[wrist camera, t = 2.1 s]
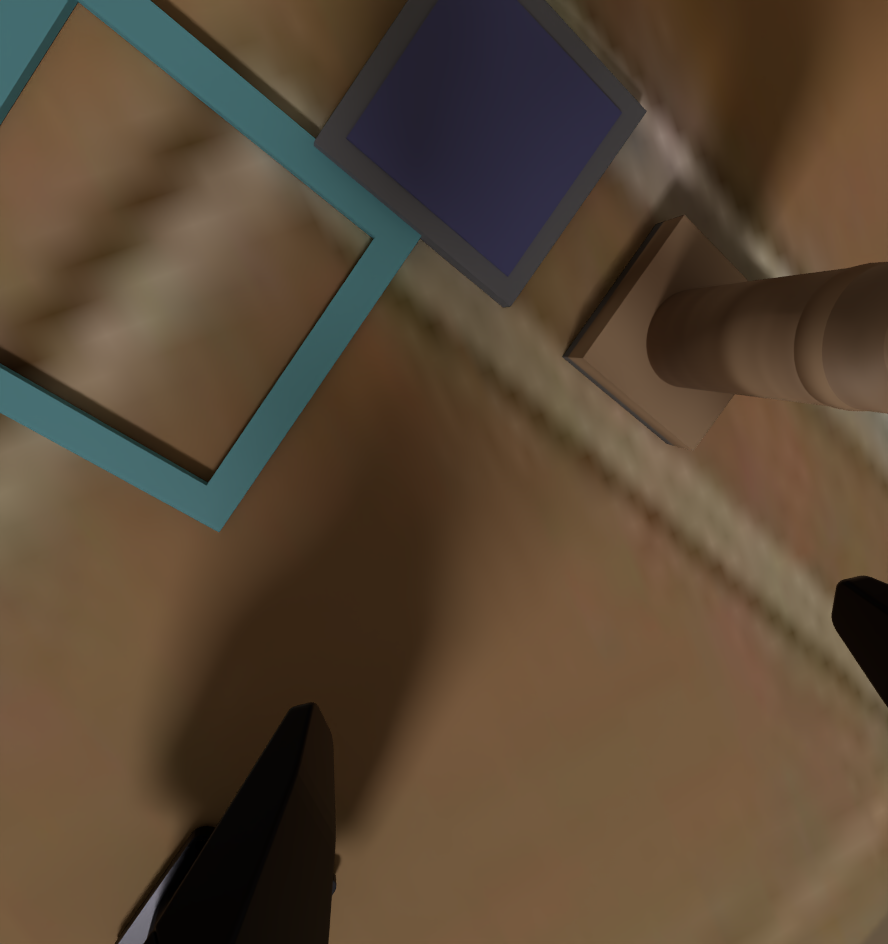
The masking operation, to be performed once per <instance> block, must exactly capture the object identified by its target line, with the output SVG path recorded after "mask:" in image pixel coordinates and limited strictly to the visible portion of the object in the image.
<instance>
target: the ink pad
mask: <svg viewBox="0 0 888 944" xmlns="http://www.w3.org/2000/svg"><path fill="white" fill-rule="evenodd" d="M646 112H647V111H646V110H645V109H644V108H643V107H642V106H641V105H640V104H639V102H638V101H637V100H636V99H635V98H634V97H633V96H632V95H631V94H630V93H629V92H628V90H627V89H626V88H625V87H624V86H623V85H622V84H621V83H620V82H619V81H618V80H617V78H616V77H615V76H614V75H613V74H612V73H611V72H610V71H609V70H608V69H607V68H606V66H605V65H604V64H603V63H602V62H601V61H600V60H599V59H598V58H597V57H596V55H595V54H594V53H593V52H592V51H591V50H590V49H589V48H588V47H587V46H586V45H585V43H584V42H583V41H582V40H581V39H580V38H579V37H578V36H577V35H576V34H575V33H574V31H573V30H572V29H571V28H570V27H569V26H568V25H567V24H566V23H565V22H564V21H563V19H562V18H561V17H560V16H559V15H558V14H557V13H556V12H555V11H554V10H553V9H552V7H551V6H550V5H549V4H548V3H547V2H546V1H545V0H408V1H407V2H406V4H405V5H404V7H403V8H402V10H401V12H400V13H399V15H398V16H397V18H396V19H395V21H394V22H393V24H392V25H391V27H390V28H389V30H388V31H387V33H386V34H385V36H384V37H383V39H382V40H381V42H380V43H379V45H378V46H377V48H376V49H375V51H374V52H373V54H372V55H371V57H370V58H369V60H368V61H367V63H366V64H365V66H364V67H363V69H362V70H361V72H360V73H359V75H358V76H357V78H356V79H355V81H354V82H353V84H352V85H351V87H350V88H349V90H348V91H347V93H346V94H345V96H344V97H343V99H342V100H341V102H340V103H339V105H338V106H337V108H336V109H335V111H334V112H333V114H332V115H331V117H330V118H329V120H328V121H327V123H326V124H325V126H324V127H323V129H322V130H321V132H320V133H319V135H318V136H317V138H316V139H315V141H314V147H316V148H317V149H318V150H319V151H320V152H322V153H323V154H324V155H325V156H326V157H328V158H329V159H330V160H331V161H332V162H334V163H335V164H336V165H337V166H338V167H340V168H341V169H342V170H343V171H344V172H346V173H347V174H348V175H349V176H350V177H352V178H353V179H354V180H355V181H356V182H358V183H359V184H360V185H361V186H362V187H364V188H365V189H366V190H367V191H368V192H370V193H371V194H372V195H373V196H374V197H376V198H377V199H378V200H379V201H380V202H382V203H383V204H384V205H385V206H386V207H388V208H389V209H390V210H391V211H392V212H394V213H395V214H396V215H397V216H398V217H400V218H401V219H402V220H403V221H404V222H406V223H407V224H408V225H409V226H410V227H412V228H413V229H414V230H415V231H416V232H418V233H419V234H420V235H421V237H420V239H421V240H423V241H424V242H425V243H426V244H427V245H429V246H430V247H431V248H432V249H433V250H435V251H436V252H437V253H438V254H439V255H441V256H442V257H443V258H444V259H445V260H447V261H448V262H449V263H450V264H451V265H453V266H454V267H455V268H456V269H457V270H459V271H460V272H461V273H462V274H463V275H465V276H466V277H467V278H468V279H470V280H471V281H472V282H473V283H474V284H476V285H477V286H478V287H479V288H480V289H482V290H483V291H484V292H485V293H486V294H488V295H489V296H490V297H491V298H492V299H494V300H495V301H496V302H497V303H498V304H500V305H501V306H502V307H509V306H511V305H512V304H513V302H514V301H515V300H516V298H517V297H518V295H519V294H520V292H521V291H522V290H523V288H524V287H525V285H526V284H527V282H528V281H529V279H530V278H531V277H532V275H533V274H534V272H535V271H536V269H537V268H538V267H539V265H540V264H541V262H542V261H543V259H544V258H545V257H546V255H547V254H548V252H549V251H550V249H551V248H552V246H553V245H554V244H555V242H556V241H557V239H558V238H559V236H560V235H561V234H562V232H563V231H564V229H565V228H566V226H567V225H568V224H569V222H570V221H571V219H572V218H573V216H574V215H575V214H576V212H577V211H578V209H579V208H580V206H581V205H582V203H583V202H584V201H585V199H586V198H587V196H588V195H589V193H590V192H591V191H592V189H593V188H594V186H595V185H596V183H597V182H598V181H599V179H600V178H601V176H602V175H603V173H604V172H605V170H606V169H607V168H608V166H609V165H610V163H611V162H612V160H613V159H614V158H615V156H616V155H617V153H618V152H619V150H620V149H621V148H622V146H623V145H624V143H625V142H626V140H627V139H628V137H629V136H630V135H631V133H632V132H633V130H634V129H635V127H636V126H637V125H638V123H639V122H640V120H641V119H642V117H643V116H644V115H645V113H646Z"/></svg>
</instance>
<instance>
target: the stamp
mask: <svg viewBox="0 0 888 944" xmlns="http://www.w3.org/2000/svg"><path fill="white" fill-rule="evenodd" d="M563 358H564V359H565V360H567V361H568V362H569V363H570V364H571V365H573V366H574V367H575V368H576V369H577V370H579V371H580V372H581V373H582V374H583V375H585V376H586V377H587V378H588V379H589V380H591V381H592V382H593V383H594V384H595V385H597V386H598V387H599V388H600V389H602V390H603V391H604V392H605V393H606V394H608V395H609V396H610V397H611V398H612V399H614V400H615V401H616V402H617V403H618V404H620V405H621V406H622V407H623V408H624V409H626V410H627V411H628V412H629V413H630V414H632V415H633V416H634V417H635V418H636V419H638V420H639V421H640V422H641V423H642V424H644V425H645V426H646V427H647V428H649V429H650V430H651V431H652V432H653V433H655V434H656V435H657V436H658V437H659V438H661V439H662V440H663V441H664V442H665V443H667V444H670V445H673V446H677V447H680V448H684V449H687V450H691V451H694V449H695V448H696V447H697V445H698V444H699V443H700V441H701V440H702V438H703V437H704V436H705V434H706V433H707V432H708V430H709V429H710V427H711V426H712V425H713V423H714V422H715V421H716V419H717V418H718V416H719V415H720V414H721V412H722V411H723V410H724V408H725V407H726V405H727V404H728V403H729V401H730V400H731V399H732V397H733V396H734V394H737V395H745V396H753V397H761V398H769V399H777V400H785V401H793V402H801V403H808V404H816V405H824V406H831V407H833V408H838V409H843V410H848V411H872V412H880V413H888V262H878V263H868V264H863V265H859V266H855V267H851V268H846V269H838V270H831V271H823V272H816V273H808V274H800V275H793V276H785V277H778V278H770V279H763V280H755V281H748V280H747V279H746V278H745V277H744V276H743V275H742V274H741V273H740V272H739V271H738V270H737V269H736V268H735V267H734V266H733V265H732V264H731V263H730V261H729V260H728V259H727V258H726V257H725V256H724V255H723V254H722V253H721V252H720V251H719V250H718V249H717V248H716V247H715V246H714V245H713V244H712V243H711V242H710V241H709V240H708V239H707V238H706V237H705V236H704V234H703V233H702V232H701V231H700V230H699V229H698V228H697V227H696V226H695V225H694V224H693V223H692V222H691V221H690V220H689V219H688V218H687V217H686V216H685V215H682V216H679V217H676V218H673V219H670V220H667V221H664V222H661V223H658V224H656V225H655V226H654V228H653V229H652V231H651V232H650V233H649V235H648V236H647V238H646V239H645V240H644V242H643V243H642V245H641V246H640V248H639V249H638V250H637V252H636V253H635V255H634V256H633V257H632V259H631V260H630V262H629V263H628V265H627V266H626V267H625V269H624V270H623V272H622V273H621V274H620V276H619V277H618V279H617V280H616V282H615V283H614V284H613V286H612V287H611V289H610V290H609V291H608V293H607V294H606V296H605V297H604V299H603V300H602V301H601V303H600V304H599V306H598V307H597V308H596V310H595V311H594V313H593V314H592V316H591V317H590V318H589V320H588V321H587V323H586V324H585V325H584V327H583V328H582V330H581V331H580V332H579V334H578V335H577V337H576V338H575V340H574V341H573V342H572V344H571V345H570V347H569V348H568V349H567V351H566V352H565V354H564V355H563Z"/></svg>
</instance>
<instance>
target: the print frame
mask: <svg viewBox="0 0 888 944" xmlns="http://www.w3.org/2000/svg"><path fill="white" fill-rule="evenodd" d="M78 2H79V3H80V4H82V5H83V6H84V7H85V8H87V9H88V10H89V11H90V12H92V13H93V14H94V15H95V16H97V17H98V18H99V19H100V20H102V21H103V22H104V23H105V24H107V25H108V26H109V27H110V28H112V29H113V30H114V31H115V32H117V33H118V34H119V35H120V36H121V37H123V38H124V39H125V40H126V41H128V42H129V43H130V44H131V45H133V46H134V47H135V48H136V49H138V50H139V51H140V52H141V53H143V54H144V55H145V56H146V57H148V58H149V59H150V60H151V61H153V62H154V63H155V64H156V65H158V66H159V67H160V68H161V69H163V70H164V71H165V72H166V73H168V74H169V75H170V76H171V77H173V78H174V79H175V80H176V81H177V82H179V83H180V84H181V85H182V86H184V87H185V88H186V89H187V90H189V91H190V92H191V93H192V94H194V95H195V96H196V97H197V98H199V99H200V100H201V101H202V102H204V103H205V104H206V105H207V106H209V107H210V108H211V109H212V110H214V111H215V112H216V113H217V114H219V115H220V116H221V117H222V118H224V119H225V120H226V121H227V122H229V123H230V124H231V125H232V126H233V127H235V128H236V129H237V130H238V131H240V132H241V133H242V134H243V135H245V136H246V137H247V138H248V139H250V140H251V141H252V142H253V143H255V144H256V145H257V146H258V147H260V148H261V149H262V150H263V151H265V152H266V153H267V154H268V155H270V156H271V157H272V158H273V159H275V160H276V161H277V162H278V163H280V164H281V165H282V166H283V167H285V168H286V169H287V170H288V171H289V172H291V173H292V174H293V175H294V176H296V177H297V178H298V179H299V180H301V181H302V182H303V183H304V184H306V185H307V186H308V187H309V188H311V189H312V190H313V191H314V192H316V193H317V194H318V195H319V196H321V197H322V198H323V199H324V200H326V201H327V202H328V203H329V204H331V205H332V206H333V207H334V208H336V209H337V210H338V211H339V212H341V213H342V214H343V215H344V216H345V217H347V218H348V219H349V220H350V221H352V222H353V223H354V224H355V225H357V226H358V227H359V228H360V229H362V230H363V231H364V232H365V233H367V234H368V235H369V236H370V237H372V238H373V241H372V242H371V244H370V245H369V247H368V248H367V250H366V251H365V253H364V254H363V256H362V257H361V259H360V260H359V261H358V263H357V264H356V266H355V267H354V269H353V270H352V272H351V273H350V275H349V276H348V278H347V279H346V281H345V282H344V284H343V285H342V287H341V288H340V289H339V291H338V292H337V294H336V295H335V297H334V298H333V300H332V301H331V303H330V304H329V306H328V307H327V309H326V310H325V312H324V313H323V315H322V316H321V318H320V319H319V320H318V322H317V323H316V325H315V326H314V328H313V329H312V331H311V332H310V334H309V335H308V337H307V338H306V340H305V341H304V343H303V344H302V346H301V347H300V348H299V350H298V351H297V353H296V354H295V356H294V357H293V359H292V360H291V362H290V363H289V365H288V366H287V368H286V369H285V371H284V372H283V374H282V375H281V377H280V378H279V379H278V381H277V382H276V384H275V385H274V387H273V388H272V390H271V391H270V393H269V394H268V396H267V397H266V399H265V400H264V402H263V403H262V405H261V406H260V407H259V409H258V410H257V412H256V413H255V415H254V416H253V418H252V419H251V421H250V422H249V424H248V425H247V427H246V428H245V430H244V431H243V433H242V434H241V436H240V437H239V438H238V440H237V441H236V443H235V444H234V446H233V447H232V449H231V450H230V452H229V453H228V455H227V456H226V458H225V459H224V461H223V462H222V464H221V465H220V466H219V468H218V469H217V471H216V472H215V474H214V475H213V477H212V478H211V480H210V481H209V483H208V482H206V481H204V480H203V479H201V478H199V477H197V476H196V475H194V474H192V473H190V472H189V471H187V470H185V469H183V468H182V467H180V466H178V465H176V464H175V463H173V462H171V461H169V460H168V459H166V458H164V457H162V456H161V455H159V454H157V453H155V452H154V451H152V450H150V449H149V448H147V447H145V446H143V445H142V444H140V443H138V442H136V441H135V440H133V439H131V438H129V437H128V436H126V435H124V434H122V433H121V432H119V431H117V430H115V429H114V428H112V427H110V426H108V425H107V424H105V423H103V422H101V421H100V420H98V419H96V418H95V417H93V416H91V415H89V414H88V413H86V412H84V411H82V410H81V409H79V408H77V407H75V406H74V405H72V404H70V403H68V402H67V401H65V400H63V399H61V398H60V397H58V396H56V395H54V394H53V393H51V392H49V391H47V390H46V389H44V388H42V387H41V386H39V385H37V384H35V383H34V382H32V381H30V380H28V379H27V378H25V377H23V376H21V375H20V374H18V373H16V372H14V371H13V370H11V369H9V368H7V367H6V366H4V365H2V364H0V413H2V414H4V415H6V416H7V417H9V418H11V419H13V420H15V421H17V422H18V423H20V424H22V425H24V426H26V427H28V428H29V429H31V430H33V431H35V432H37V433H39V434H40V435H42V436H44V437H46V438H48V439H49V440H51V441H53V442H55V443H57V444H59V445H60V446H62V447H64V448H66V449H68V450H70V451H71V452H73V453H75V454H77V455H79V456H81V457H82V458H84V459H86V460H88V461H90V462H92V463H93V464H95V465H97V466H99V467H101V468H102V469H104V470H106V471H108V472H110V473H112V474H113V475H115V476H117V477H119V478H121V479H123V480H124V481H126V482H128V483H130V484H132V485H134V486H135V487H137V488H139V489H141V490H143V491H144V492H146V493H148V494H150V495H152V496H154V497H155V498H157V499H159V500H161V501H163V502H165V503H166V504H168V505H170V506H172V507H174V508H176V509H177V510H179V511H181V512H183V513H185V514H187V515H188V516H190V517H192V518H194V519H196V520H197V521H199V522H201V523H203V524H205V525H207V526H208V527H210V528H212V529H214V530H216V531H218V532H220V530H221V529H222V528H223V526H224V525H225V523H226V522H227V520H228V519H229V517H230V516H231V514H232V513H233V511H234V510H235V508H236V507H237V506H238V504H239V503H240V501H241V500H242V498H243V497H244V495H245V494H246V492H247V491H248V489H249V488H250V486H251V485H252V484H253V482H254V481H255V479H256V478H257V476H258V475H259V473H260V472H261V470H262V469H263V467H264V466H265V465H266V463H267V462H268V460H269V459H270V457H271V456H272V454H273V453H274V451H275V450H276V448H277V447H278V445H279V444H280V443H281V441H282V440H283V438H284V437H285V435H286V434H287V432H288V431H289V429H290V428H291V426H292V425H293V424H294V422H295V421H296V419H297V418H298V416H299V415H300V413H301V412H302V410H303V409H304V407H305V406H306V404H307V403H308V402H309V400H310V399H311V397H312V396H313V394H314V393H315V391H316V390H317V388H318V387H319V385H320V384H321V382H322V381H323V380H324V378H325V377H326V375H327V374H328V372H329V371H330V369H331V368H332V366H333V365H334V363H335V362H336V361H337V359H338V358H339V356H340V355H341V353H342V352H343V350H344V349H345V347H346V346H347V344H348V343H349V341H350V340H351V339H352V337H353V336H354V334H355V333H356V331H357V330H358V328H359V327H360V325H361V324H362V322H363V321H364V320H365V318H366V317H367V315H368V314H369V312H370V311H371V309H372V308H373V306H374V305H375V303H376V302H377V300H378V299H379V298H380V296H381V295H382V293H383V292H384V290H385V289H386V287H387V286H388V284H389V283H390V281H391V280H392V279H393V277H394V276H395V274H396V273H397V271H398V270H399V268H400V267H401V265H402V264H403V262H404V261H405V259H406V258H407V257H408V255H409V254H410V252H411V251H412V249H413V248H414V246H415V245H416V243H417V242H418V240H419V239H420V237H421V235H420V234H419V233H418V232H416V231H415V230H414V229H413V228H412V227H410V226H409V225H408V224H407V223H406V222H404V221H403V220H402V219H401V218H400V217H398V216H397V215H396V214H395V213H394V212H392V211H391V210H390V209H389V208H388V207H386V206H385V205H384V204H383V203H382V202H380V201H379V200H378V199H377V198H376V197H374V196H373V195H372V194H371V193H370V192H368V191H367V190H366V189H365V188H364V187H362V186H361V185H360V184H359V183H358V182H356V181H355V180H354V179H353V178H352V177H350V176H349V175H348V174H347V173H346V172H344V171H343V170H342V169H341V168H340V167H338V166H337V165H336V164H335V163H334V162H332V161H331V160H330V159H329V158H328V157H326V156H325V155H324V154H323V153H322V152H320V151H319V150H318V149H317V148H316V147H314V141H315V138H314V137H313V136H311V135H310V134H309V133H308V132H307V131H305V130H304V129H303V128H302V127H301V126H299V125H298V124H297V123H296V122H295V121H294V120H292V119H291V118H290V117H289V116H288V115H286V114H285V113H284V112H283V111H282V110H280V109H279V108H278V107H277V106H276V105H274V104H273V103H272V102H271V101H270V100H268V99H267V98H266V97H265V96H264V95H263V94H261V93H260V92H259V91H258V90H257V89H255V88H254V87H253V86H252V85H251V84H249V83H248V82H247V81H246V80H245V79H243V78H242V77H241V76H240V75H239V74H237V73H236V72H235V71H234V70H233V69H231V68H230V67H229V66H228V65H227V64H226V63H224V62H223V61H222V60H221V59H220V58H218V57H217V56H216V55H215V54H214V53H212V52H211V51H210V50H209V49H208V48H206V47H205V46H204V45H203V44H202V43H200V42H199V41H198V40H197V39H196V38H195V37H193V36H192V35H191V34H190V33H189V32H187V31H186V30H185V29H184V28H183V27H181V26H180V25H179V24H178V23H177V22H175V21H174V20H173V19H172V18H171V17H169V16H168V15H167V14H166V13H165V12H164V11H162V10H161V9H160V8H159V7H158V6H156V5H155V4H154V3H153V2H152V1H150V0H1V1H0V125H1V123H2V121H3V120H4V118H5V117H6V115H7V114H8V112H9V110H10V109H11V107H12V106H13V104H14V102H15V101H16V99H17V98H18V96H19V95H20V93H21V91H22V90H23V88H24V87H25V85H26V83H27V82H28V80H29V79H30V77H31V76H32V74H33V72H34V71H35V69H36V68H37V66H38V64H39V63H40V61H41V60H42V58H43V57H44V55H45V53H46V52H47V50H48V49H49V47H50V45H51V44H52V42H53V41H54V39H55V37H56V36H57V34H58V33H59V31H60V30H61V28H62V26H63V25H64V23H65V22H66V20H67V18H68V17H69V15H70V14H71V12H72V11H73V9H74V7H75V6H76V4H77V3H78Z"/></svg>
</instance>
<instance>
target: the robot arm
mask: <svg viewBox="0 0 888 944" xmlns="http://www.w3.org/2000/svg"><path fill="white" fill-rule="evenodd" d="M832 622H833V625H834V627H835V629H836V631H837V633H838V634H839V636H840V637H841V639H842V640H843V642H844V643H845V645H846V646H847V648H848V649H849V651H850V652H851V654H852V655H853V657H854V658H855V660H856V661H857V663H858V664H859V666H860V667H861V669H862V670H863V672H864V673H865V675H866V676H867V678H868V679H869V681H870V682H871V684H872V685H873V687H874V688H875V690H876V691H877V693H878V694H879V696H880V697H881V699H882V700H883V701H884V703H885V704H886V706H887V707H888V584H887V583H884V582H882V581H879V580H877V579H874V578H872V577H869V576H857V577H853V578H849V579H844V580H841V581H840V582H839V583H838V584H837V586H836V591H835V597H834V603H833V609H832ZM200 840H207V842H200ZM335 842H336V822H335V789H334V757H333V739H332V735H331V732H330V729H329V727H328V725H327V723H326V721H325V719H324V717H323V715H322V713H321V711H320V709H319V707H318V706H317V704H315V703H314V702H310V703H306V704H302V705H297V706H294V707H292V708H291V709H290V710H289V711H288V712H287V714H286V716H285V717H284V719H283V720H282V722H281V724H280V725H279V727H278V729H277V730H276V732H275V733H274V735H273V737H272V738H271V740H270V741H269V743H268V745H267V746H266V748H265V749H264V751H263V753H262V754H261V756H260V757H259V759H258V761H257V762H256V764H255V765H254V767H253V769H252V770H251V772H250V774H249V775H248V777H247V778H246V780H245V782H244V783H243V785H242V786H241V788H240V790H239V791H238V793H237V794H236V796H235V798H234V799H233V801H232V802H231V804H230V806H229V807H228V809H227V810H226V812H225V814H224V815H223V817H222V818H221V820H220V822H219V823H218V825H217V827H216V828H213V827H209V826H203V827H199V828H197V829H196V830H195V831H194V832H193V833H192V834H191V835H190V837H189V838H188V840H187V841H186V842H185V844H184V845H183V847H182V848H181V850H180V851H179V852H178V854H177V855H176V857H175V858H174V860H173V861H172V862H171V864H170V865H169V867H168V868H167V870H166V871H165V872H164V874H163V875H162V877H161V878H160V879H159V881H158V882H157V884H156V885H155V887H154V888H153V889H152V891H151V892H150V894H149V895H148V897H147V898H146V899H145V901H144V902H143V904H142V905H141V907H140V908H139V909H138V911H137V912H136V914H135V915H134V916H133V918H132V919H131V921H130V922H129V924H128V925H127V926H126V928H125V929H124V931H123V932H122V934H121V935H120V936H119V938H118V939H117V941H116V942H115V944H328V941H329V928H330V914H331V901H332V895H333V893H334V892H335V890H336V875H335V874H334V860H335Z"/></svg>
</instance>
